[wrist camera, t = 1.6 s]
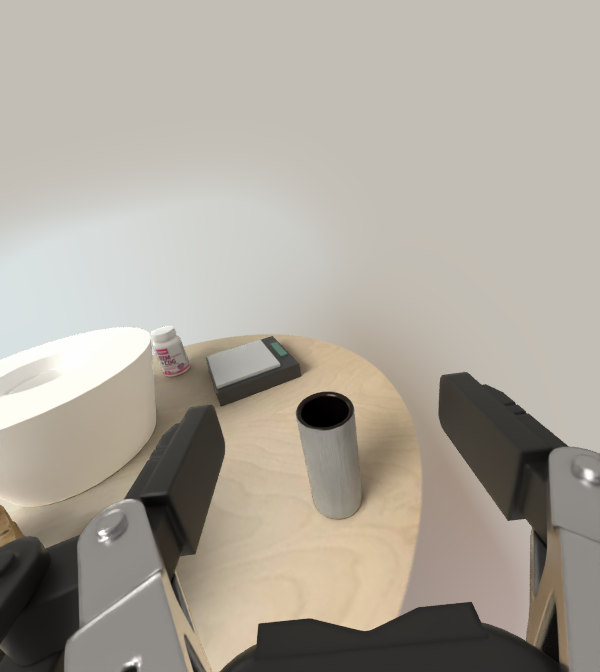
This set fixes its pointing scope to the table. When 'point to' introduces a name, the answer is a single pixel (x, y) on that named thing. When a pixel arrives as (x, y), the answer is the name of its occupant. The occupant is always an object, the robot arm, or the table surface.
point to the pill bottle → (169, 351)
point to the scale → (250, 369)
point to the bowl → (73, 413)
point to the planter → (331, 453)
